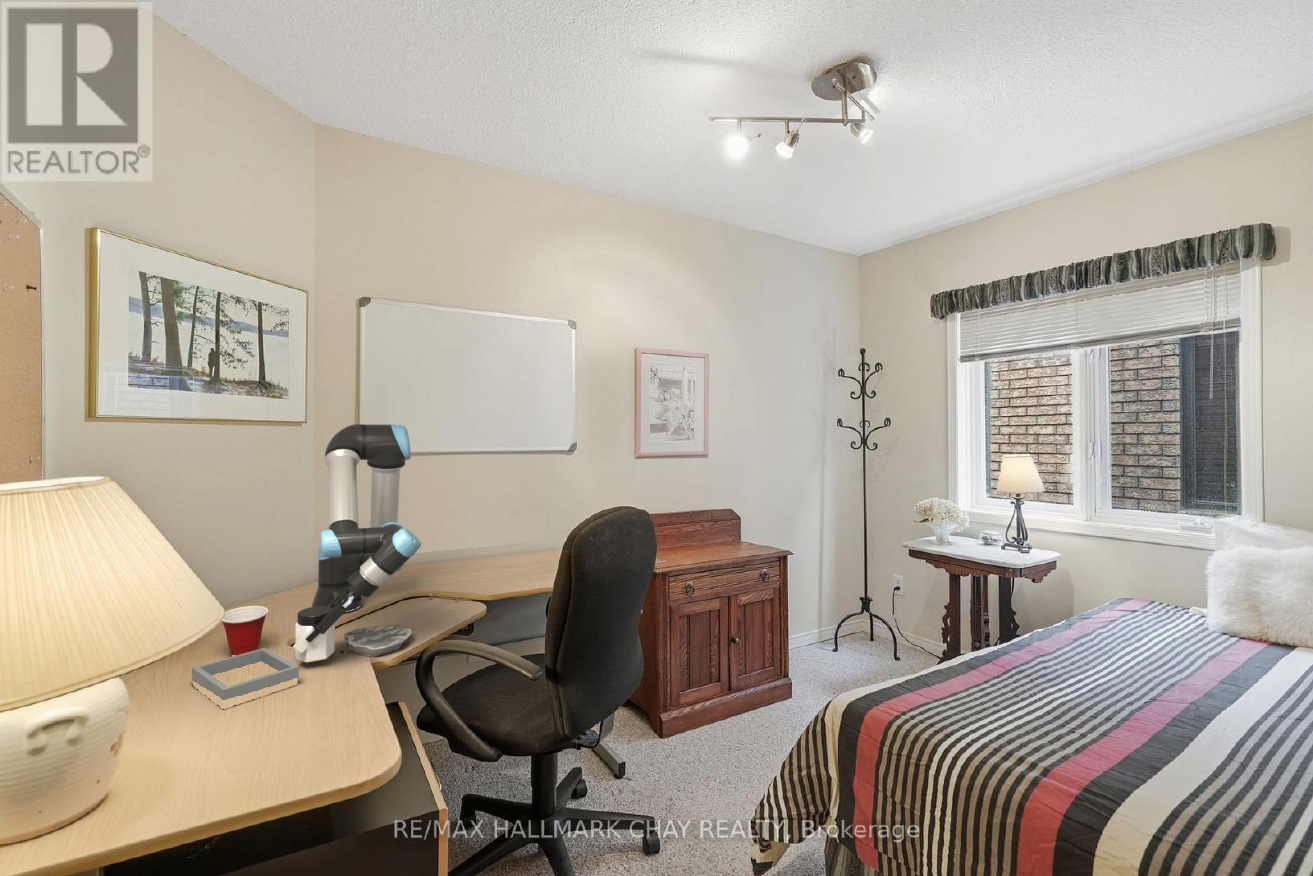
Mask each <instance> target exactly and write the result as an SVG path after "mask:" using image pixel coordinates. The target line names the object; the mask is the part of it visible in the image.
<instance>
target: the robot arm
mask: <svg viewBox="0 0 1313 876" xmlns="http://www.w3.org/2000/svg"><path fill="white" fill-rule="evenodd" d="M325 448H326V449H325V453H324V462H325V465H326V466H327V467H328V529H327V530H326V529H325V530H322V531H321V532H320V546H319V548H318V557H317V560H318V567H317V568H318V571H317V572H318V573H317V574H318V577H317V579H318V580H317V582H318V583H317V590H316V592H315V595H314V599H313V601H312V603H311V607H317V606H327V607H331V608H332V609H331V610H330V611H329V612H328V614H327V615H326V616H325V617H324V618H323V619H322V620H321V621H320V622H319V623H318V624H317V625H315V624H313V625H312V627H313V628H312V629H310V630H309V631H308V632H307V633H306V634H305V635H304V636H303V637H302V638H301V639H300V640H299V641H298V642H297V643H296V644H295V643H294V645H293V646H292V647H293V648H294V650H295V649H297V650H298V651H299V652H301V653H302V652H303V651H304V650H305V649H306V648H307V647H308V646H310V645H311V644H312V643H313V642H314V641H315V640H316V639H317V638H318V637H319V636H320V635H321V634H324V633H326V631H327V630H328V629H329V628H330V627H331V626H332V625H333V624H334V623H336V622H337V621H338V620H339V619H340V618H341V617H342V616H343V615H344V614H346V613H345V612H346V611H349V610H352V609H356V608H357V607H359V606H361V605H362V606H363V597H364V598H369V597H371V596H372V595H373V594H374V593H375V592H376V591H377V590H379V586H382V585H383V584H384V583H385V582H386V581H390V580H391V576H393V574H394V573H396V572H399V571H401V570H402V569H403V567H404V565H405V563H406V562H407V561H408V560H410V559H411V557H413V556H414V555H415V554H416V553H417V552H418V550H420V548H421V546H422V542H421V541H420V539H419V538H418V536H416V535H415V534H414V533H413V532H412V531H411V530H409V529H407V528H406V527H405V528H404V527H403V526H402V525H401V524H400V523H398V522H399V521H398V520H399V501H400V500H399V499H400V498H399V497H400V481H401V480H400V479H401V478H400V477H401V476H400V475H401V469H403V468H404V467H405V466H406V461H409V460H410V459H411V455H412V454H411V443H410V437H409V433H408V429H407V427H406V426H404V425H401V424H400V425H398V424H392V423H390V424H374V423H373V424H369V423H368V424H361V423H357V424H351V425H348V426H346V427H343V428H342V429H340V430H339V431H338V432H337V433H335V434H334V436H333V437H332V438H331V439H330V440H329V442H328V444H327V446H326V447H325ZM361 461H366V464H367V466H368V467H369V468H370V469H371V491H370V492H371V494H370V496H371V497H370V517H369V518H370V522H369V524H370V525H369V527H361V528H359V507H358V504H359V503H358V502H359V500H358V477H357V476H358V475H357V474H358V473H357V466H358V465H359V463H360V462H361Z"/></svg>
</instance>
